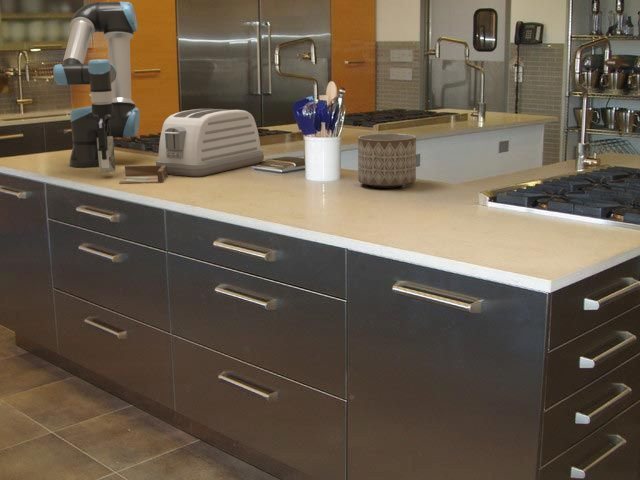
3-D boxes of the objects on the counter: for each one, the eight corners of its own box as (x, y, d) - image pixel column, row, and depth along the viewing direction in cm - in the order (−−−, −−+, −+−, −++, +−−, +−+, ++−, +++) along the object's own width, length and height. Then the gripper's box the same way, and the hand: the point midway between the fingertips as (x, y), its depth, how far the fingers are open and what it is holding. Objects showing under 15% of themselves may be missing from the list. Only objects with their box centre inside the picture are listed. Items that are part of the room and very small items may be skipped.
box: (110, 173, 324) (107, 138, 320) (99, 173, 325) (96, 138, 321) (116, 170, 329) (113, 135, 325) (105, 170, 330) (102, 135, 326)
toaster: (148, 174, 331) (144, 114, 326) (223, 159, 368) (220, 104, 363) (195, 179, 319) (191, 117, 314) (267, 162, 356) (266, 106, 351)
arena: (126, 176, 326) (125, 166, 326) (167, 175, 327) (166, 164, 326) (119, 183, 312) (118, 172, 311) (162, 182, 312) (161, 171, 312)
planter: (348, 183, 304) (348, 135, 300) (398, 178, 312) (398, 131, 308) (374, 192, 287) (373, 141, 283) (426, 187, 294) (426, 137, 291)
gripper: (96, 100, 329) (101, 162, 335) (86, 106, 311) (91, 171, 317) (116, 100, 329) (121, 161, 335) (108, 105, 311) (113, 170, 317)
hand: (107, 166), depth 326 cm, fingers closed on box, 6 cm apart
